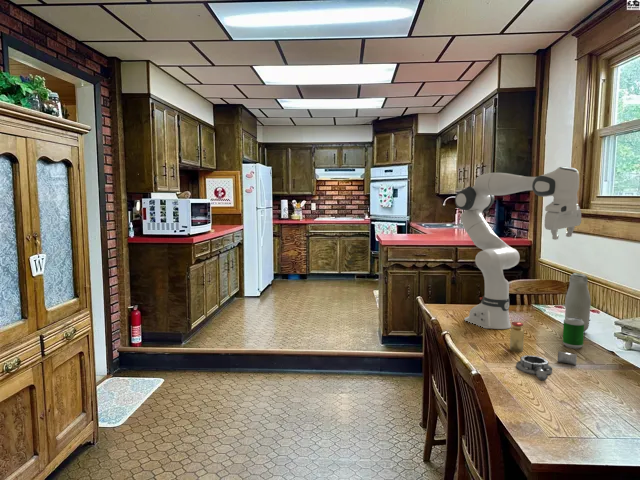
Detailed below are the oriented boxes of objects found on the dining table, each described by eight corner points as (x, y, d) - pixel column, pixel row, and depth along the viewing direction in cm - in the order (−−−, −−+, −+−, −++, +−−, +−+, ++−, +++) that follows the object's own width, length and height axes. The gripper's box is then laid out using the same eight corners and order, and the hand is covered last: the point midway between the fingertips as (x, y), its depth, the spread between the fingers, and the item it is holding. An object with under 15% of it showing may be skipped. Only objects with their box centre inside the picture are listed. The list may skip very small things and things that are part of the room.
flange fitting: (524, 379, 150) (524, 369, 150) (512, 361, 167) (513, 353, 166) (561, 382, 148) (562, 372, 148) (546, 363, 164) (546, 355, 164)
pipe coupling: (557, 363, 165) (557, 353, 165) (558, 359, 168) (559, 350, 168) (575, 366, 162) (575, 356, 161) (576, 363, 165) (576, 353, 164)
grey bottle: (590, 331, 203) (593, 273, 200) (585, 336, 196) (589, 276, 193) (567, 327, 210) (570, 270, 207) (561, 331, 202) (564, 273, 200)
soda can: (585, 349, 179) (587, 321, 178) (566, 348, 180) (567, 321, 179) (578, 343, 186) (580, 316, 185) (560, 342, 188) (561, 316, 186)
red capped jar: (507, 349, 180) (508, 322, 179) (514, 347, 183) (515, 320, 181) (518, 353, 176) (519, 325, 175) (525, 350, 178) (526, 323, 177)
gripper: (572, 203, 187) (569, 233, 190) (542, 207, 178) (540, 239, 181) (587, 204, 182) (583, 236, 185) (557, 208, 173) (554, 242, 175)
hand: (562, 238), depth 183 cm, fingers open, 8 cm apart
